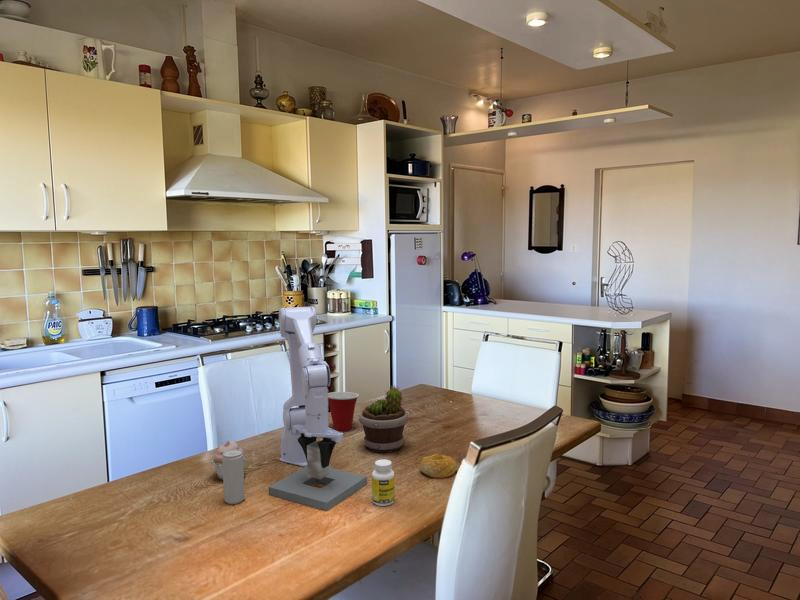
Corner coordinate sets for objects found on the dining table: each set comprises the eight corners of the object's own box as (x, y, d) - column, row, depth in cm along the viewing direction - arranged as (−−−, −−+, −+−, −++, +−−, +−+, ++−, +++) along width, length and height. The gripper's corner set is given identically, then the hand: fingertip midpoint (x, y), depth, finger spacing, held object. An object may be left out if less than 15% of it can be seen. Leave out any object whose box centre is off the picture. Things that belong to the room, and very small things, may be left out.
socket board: (268, 494, 142) (268, 486, 142) (312, 470, 157) (312, 463, 156) (326, 511, 133) (326, 502, 133) (367, 483, 148) (367, 476, 147)
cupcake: (205, 476, 153) (203, 440, 152) (236, 466, 160) (235, 431, 159) (223, 486, 147) (222, 448, 146) (255, 475, 154) (253, 439, 153)
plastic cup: (365, 426, 193) (365, 392, 191) (346, 436, 184) (345, 399, 182) (340, 421, 199) (339, 387, 197) (320, 430, 189) (319, 395, 188)
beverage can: (239, 505, 136) (237, 457, 135) (220, 504, 137) (218, 455, 136) (248, 497, 141) (246, 449, 140) (230, 495, 142) (228, 448, 141)
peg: (307, 476, 144) (306, 445, 143) (317, 470, 147) (316, 440, 146) (320, 479, 142) (319, 448, 141) (330, 473, 145) (329, 443, 144)
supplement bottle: (378, 508, 134) (377, 468, 133) (368, 499, 139) (367, 460, 138) (398, 503, 136) (398, 464, 135) (388, 494, 141) (388, 456, 140)
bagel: (465, 469, 156) (465, 453, 156) (441, 483, 148) (440, 465, 147) (437, 461, 163) (436, 445, 162) (412, 474, 155) (411, 457, 154)
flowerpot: (351, 452, 169) (349, 386, 167) (373, 436, 183) (372, 375, 181) (396, 459, 164) (395, 391, 162) (415, 441, 178) (414, 378, 176)
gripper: (283, 412, 143) (285, 464, 144) (330, 421, 136) (331, 476, 137) (302, 405, 149) (303, 455, 150) (347, 413, 142) (348, 466, 143)
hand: (318, 464), depth 144 cm, fingers closed on peg, 4 cm apart
